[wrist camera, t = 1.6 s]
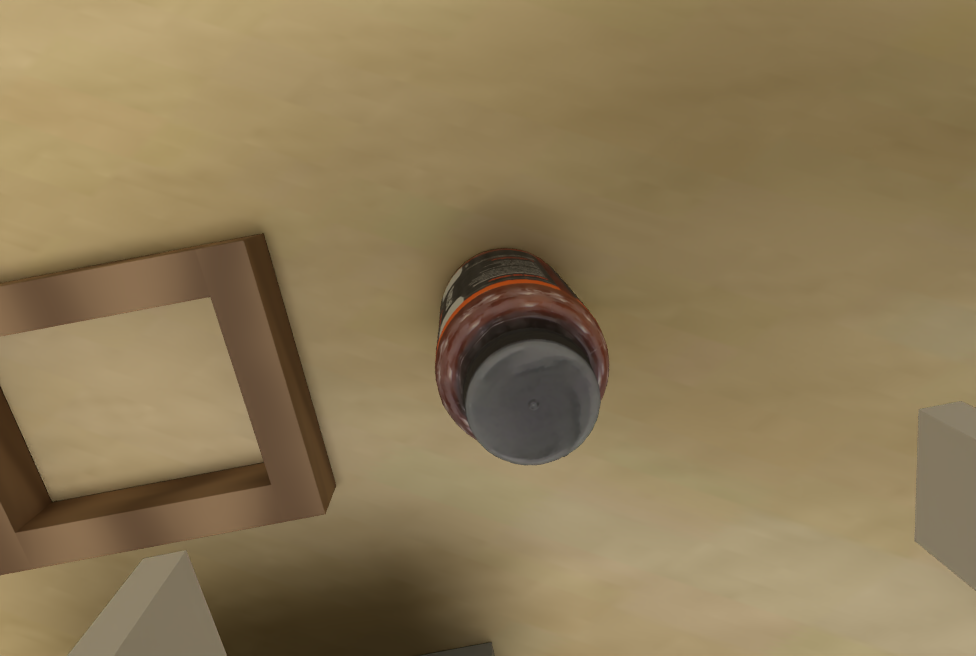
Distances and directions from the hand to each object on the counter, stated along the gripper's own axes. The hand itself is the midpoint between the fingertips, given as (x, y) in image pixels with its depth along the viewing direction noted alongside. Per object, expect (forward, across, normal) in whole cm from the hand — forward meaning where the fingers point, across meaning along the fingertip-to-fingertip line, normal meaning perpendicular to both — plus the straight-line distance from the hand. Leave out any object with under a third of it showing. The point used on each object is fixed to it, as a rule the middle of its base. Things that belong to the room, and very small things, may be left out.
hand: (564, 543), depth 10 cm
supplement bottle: (+18, 0, 0) cm, 18 cm away
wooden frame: (+18, +18, +1) cm, 25 cm away
